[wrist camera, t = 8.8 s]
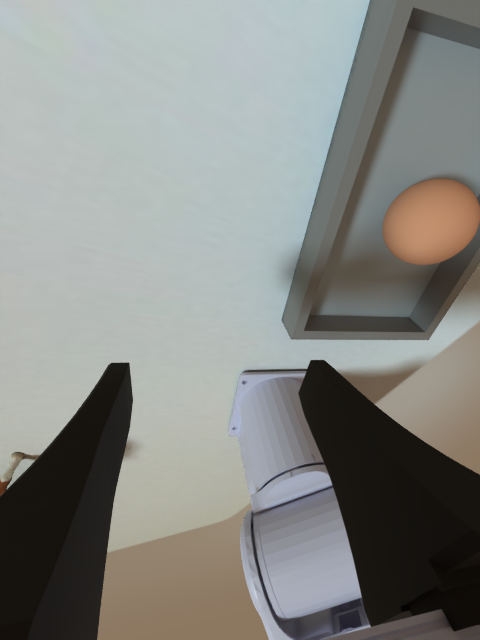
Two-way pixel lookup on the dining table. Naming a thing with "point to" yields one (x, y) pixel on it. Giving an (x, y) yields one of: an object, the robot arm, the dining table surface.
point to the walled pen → (392, 175)
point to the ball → (431, 221)
